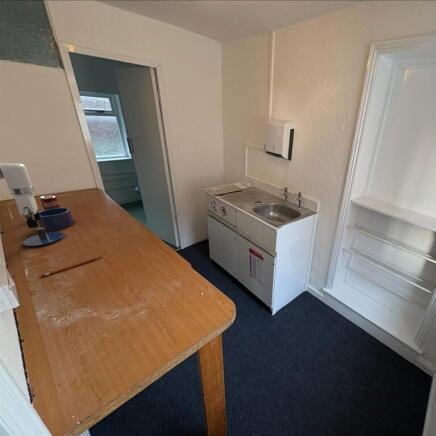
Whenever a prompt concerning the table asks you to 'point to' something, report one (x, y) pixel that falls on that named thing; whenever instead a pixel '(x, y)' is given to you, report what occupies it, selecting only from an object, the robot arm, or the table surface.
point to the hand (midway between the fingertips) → (35, 223)
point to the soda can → (49, 202)
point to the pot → (55, 218)
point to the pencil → (69, 267)
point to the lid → (43, 238)
